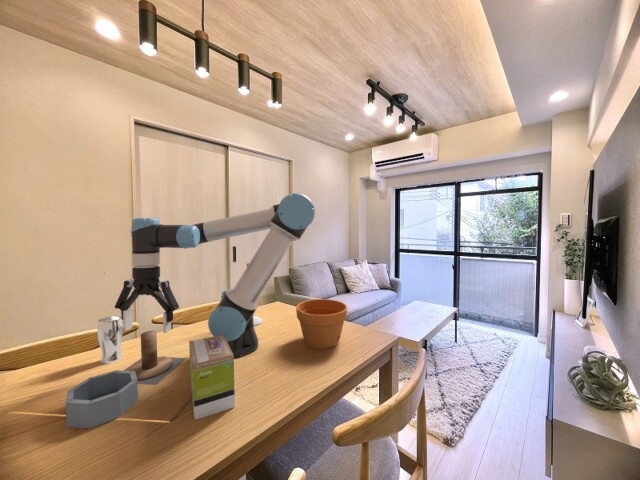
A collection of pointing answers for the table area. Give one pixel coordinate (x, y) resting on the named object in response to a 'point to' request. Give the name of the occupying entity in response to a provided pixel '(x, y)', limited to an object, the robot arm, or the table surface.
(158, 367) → the lid
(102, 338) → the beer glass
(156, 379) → the mat
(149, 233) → the robot arm
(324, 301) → the flower pot
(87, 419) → the bowl
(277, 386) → the table surface
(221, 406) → the tea box
